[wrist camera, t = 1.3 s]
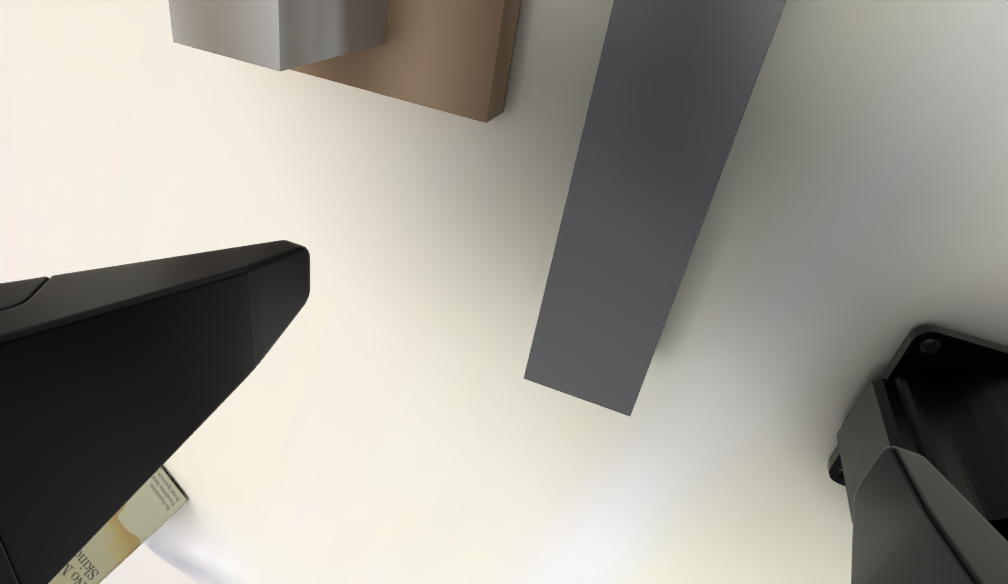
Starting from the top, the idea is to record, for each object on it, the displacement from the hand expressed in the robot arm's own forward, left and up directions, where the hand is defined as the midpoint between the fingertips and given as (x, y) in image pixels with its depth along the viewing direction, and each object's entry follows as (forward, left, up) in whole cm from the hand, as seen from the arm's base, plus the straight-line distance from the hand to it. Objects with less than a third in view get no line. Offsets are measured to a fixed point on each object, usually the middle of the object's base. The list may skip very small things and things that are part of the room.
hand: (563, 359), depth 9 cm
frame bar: (0, 0, -12) cm, 12 cm away
